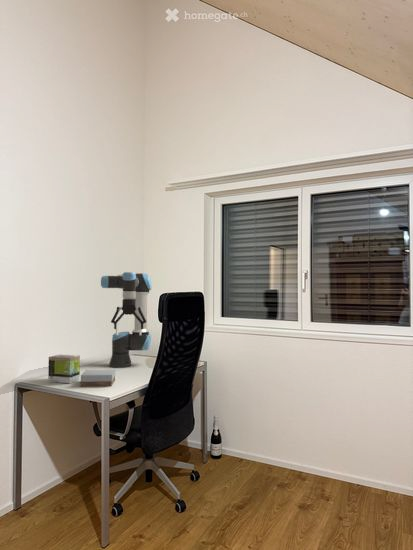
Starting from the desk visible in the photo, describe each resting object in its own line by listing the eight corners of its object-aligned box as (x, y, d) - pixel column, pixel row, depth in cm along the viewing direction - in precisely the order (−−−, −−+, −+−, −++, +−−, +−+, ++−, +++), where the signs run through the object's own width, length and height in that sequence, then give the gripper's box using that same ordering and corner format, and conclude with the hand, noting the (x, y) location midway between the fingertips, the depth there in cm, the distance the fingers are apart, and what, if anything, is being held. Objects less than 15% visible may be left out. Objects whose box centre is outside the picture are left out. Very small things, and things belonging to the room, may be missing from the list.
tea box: (80, 380, 236) (80, 355, 236) (69, 384, 226) (69, 358, 227) (58, 378, 240) (59, 353, 241) (47, 382, 231) (47, 356, 231)
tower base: (85, 381, 234) (85, 375, 234) (115, 381, 236) (115, 375, 236) (80, 387, 220) (80, 381, 220) (111, 387, 222) (111, 381, 222)
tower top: (85, 375, 234) (85, 369, 234) (115, 375, 236) (115, 369, 236) (80, 381, 220) (80, 375, 220) (111, 381, 222) (111, 374, 222)
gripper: (106, 298, 228) (105, 335, 228) (149, 298, 228) (149, 335, 228) (109, 298, 236) (108, 334, 235) (151, 298, 236) (150, 334, 235)
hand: (128, 335), depth 231 cm, fingers open, 13 cm apart
